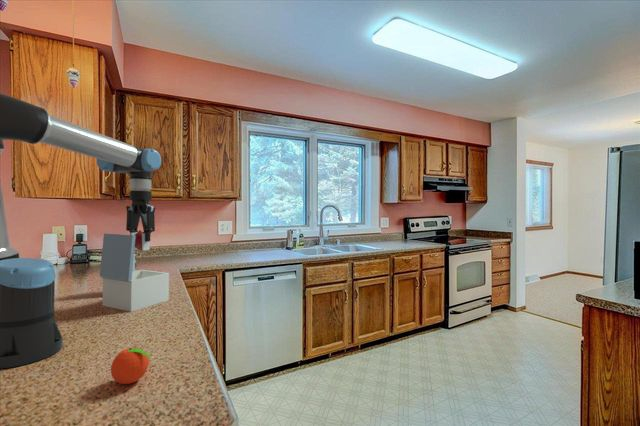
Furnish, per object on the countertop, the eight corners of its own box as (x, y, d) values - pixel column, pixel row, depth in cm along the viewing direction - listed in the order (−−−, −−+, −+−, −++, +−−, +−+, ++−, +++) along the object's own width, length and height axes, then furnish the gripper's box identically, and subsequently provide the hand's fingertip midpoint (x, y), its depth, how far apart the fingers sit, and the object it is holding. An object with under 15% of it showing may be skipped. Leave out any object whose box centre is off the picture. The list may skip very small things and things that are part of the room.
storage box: (131, 311, 113) (131, 280, 113) (102, 305, 120) (102, 276, 120) (168, 300, 128) (169, 273, 128) (141, 295, 135) (141, 269, 134)
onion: (128, 250, 124) (128, 229, 124) (142, 248, 129) (142, 229, 129) (137, 251, 121) (137, 230, 121) (151, 249, 126) (152, 229, 126)
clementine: (160, 374, 71) (160, 342, 71) (141, 391, 64) (141, 356, 64) (124, 373, 71) (125, 341, 71) (102, 390, 64) (102, 355, 64)
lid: (131, 282, 113) (128, 282, 112) (102, 277, 120) (99, 278, 119) (135, 235, 115) (132, 235, 113) (107, 233, 121) (103, 233, 120)
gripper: (166, 190, 124) (165, 250, 124) (133, 191, 132) (133, 247, 132) (148, 189, 117) (148, 252, 117) (115, 190, 125) (114, 249, 125)
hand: (140, 249), depth 125 cm, fingers closed on onion, 6 cm apart
